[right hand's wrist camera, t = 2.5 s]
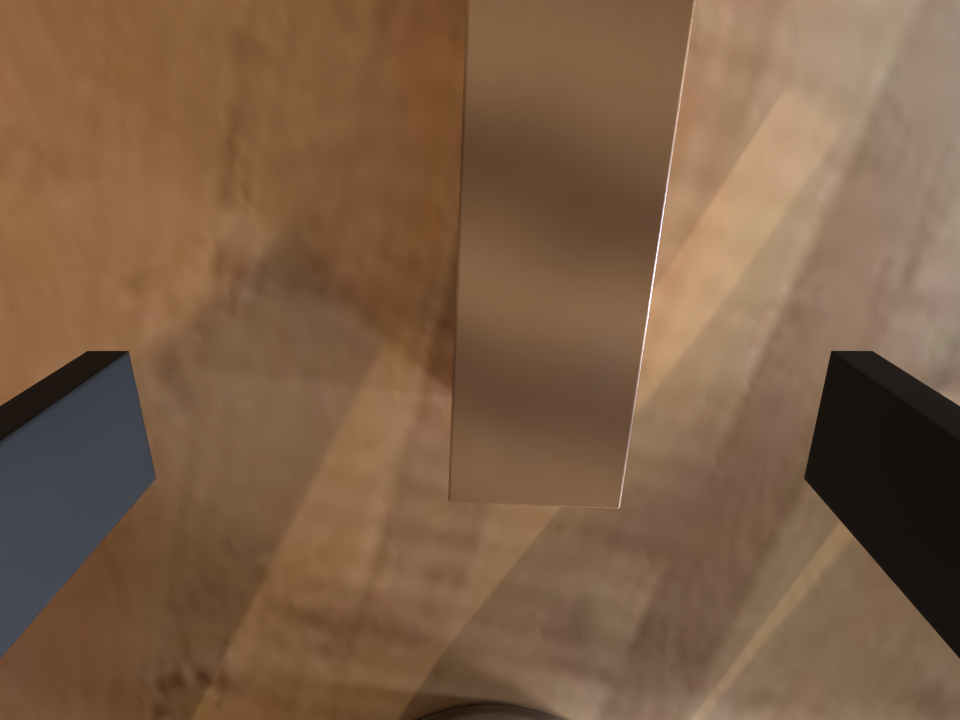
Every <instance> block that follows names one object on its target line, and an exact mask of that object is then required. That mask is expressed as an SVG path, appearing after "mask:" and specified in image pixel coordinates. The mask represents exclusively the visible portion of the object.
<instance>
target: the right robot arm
mask: <svg viewBox="0 0 960 720" xmlns="http://www.w3.org/2000/svg"><path fill="white" fill-rule="evenodd" d="M155 479H156V477H155V472H154V467H153V463H152V458H151V453H150V449H149V444H148V439H147V435H146V430H145V425H144V421H143V416H142V411H141V407H140V402H139V397H138V393H137V388H136V383H135V379H134V374H133V369H132V365H131V360H130V355H129V351H87V352H85V353H84V354H82V355H81V356H79V357H78V358H76V359H74V360H73V361H71V362H70V363H68V364H66V365H65V366H63V367H62V368H60V369H58V370H57V371H55V372H54V373H52V374H51V375H49V376H47V377H46V378H44V379H43V380H41V381H39V382H38V383H36V384H35V385H33V386H32V387H30V388H28V389H27V390H25V391H24V392H22V393H20V394H19V395H17V396H16V397H14V398H13V399H11V400H9V401H8V402H6V403H5V404H3V405H1V406H0V658H1V657H2V656H3V655H4V653H5V652H6V651H7V650H8V649H9V648H10V647H11V645H12V644H13V643H14V642H15V641H16V640H17V638H18V637H19V636H20V635H21V634H22V633H23V632H24V630H25V629H26V628H27V627H28V626H29V625H30V623H31V622H32V621H33V620H34V619H35V618H36V616H37V615H38V614H39V613H40V612H41V611H42V610H43V608H44V607H45V606H46V605H47V604H48V603H49V601H50V600H51V599H52V598H53V597H54V596H55V595H56V593H57V592H58V591H59V590H60V589H61V588H62V586H63V585H64V584H65V583H66V582H67V581H68V579H69V578H70V577H71V576H72V575H73V574H74V573H75V571H76V570H77V569H78V568H79V567H80V566H81V564H82V563H83V562H84V561H85V560H86V559H87V557H88V556H89V555H90V554H91V553H92V552H93V551H94V549H95V548H96V547H97V546H98V545H99V544H100V542H101V541H102V540H103V539H104V538H105V537H106V536H107V534H108V533H109V532H110V531H111V530H112V529H113V527H114V526H115V525H116V524H117V523H118V522H119V520H120V519H121V518H122V517H123V516H124V515H125V514H126V512H127V511H128V510H129V509H130V508H131V507H132V505H133V504H134V503H135V502H136V501H137V500H138V499H139V497H140V496H141V495H142V494H143V493H144V492H145V490H146V489H147V488H148V487H149V486H150V485H151V483H152V482H153V481H154V480H155ZM804 479H805V480H806V481H807V482H808V483H809V485H810V486H811V487H812V488H813V489H814V490H815V492H816V493H817V494H818V495H819V496H820V497H821V499H822V500H823V501H824V502H825V503H826V504H827V505H828V507H829V508H830V509H831V510H832V511H833V512H834V514H835V515H836V516H837V517H838V518H839V519H840V520H841V522H842V523H843V524H844V525H845V526H846V527H847V529H848V530H849V531H850V532H851V533H852V534H853V536H854V537H855V538H856V539H857V540H858V541H859V542H860V544H861V545H862V546H863V547H864V548H865V549H866V551H867V552H868V553H869V554H870V555H871V556H872V557H873V559H874V560H875V561H876V562H877V563H878V564H879V566H880V567H881V568H882V569H883V570H884V571H885V573H886V574H887V575H888V576H889V577H890V578H891V579H892V581H893V582H894V583H895V584H896V585H897V586H898V588H899V589H900V590H901V591H902V592H903V593H904V595H905V596H906V597H907V598H908V599H909V600H910V601H911V603H912V604H913V605H914V606H915V607H916V608H917V610H918V611H919V612H920V613H921V614H922V615H923V616H924V618H925V619H926V620H927V621H928V622H929V623H930V625H931V626H932V627H933V628H934V629H935V630H936V632H937V633H938V634H939V635H940V636H941V637H942V638H943V640H944V641H945V642H946V643H947V644H948V645H949V647H950V648H951V649H952V650H953V651H954V652H955V653H956V655H957V656H958V657H959V658H960V406H959V405H957V404H955V403H954V402H952V401H951V400H949V399H947V398H946V397H944V396H943V395H941V394H940V393H938V392H936V391H935V390H933V389H932V388H930V387H928V386H927V385H925V384H924V383H922V382H921V381H919V380H917V379H916V378H914V377H913V376H911V375H909V374H908V373H906V372H905V371H903V370H902V369H900V368H898V367H897V366H895V365H894V364H892V363H890V362H889V361H887V360H886V359H884V358H882V357H881V356H879V355H878V354H876V353H875V352H873V351H831V355H830V360H829V365H828V369H827V374H826V379H825V383H824V388H823V393H822V397H821V402H820V407H819V411H818V416H817V421H816V425H815V430H814V435H813V439H812V444H811V449H810V453H809V458H808V463H807V467H806V472H805V477H804ZM422 720H561V719H559V718H556V717H554V716H552V715H549V714H546V713H543V712H540V711H536V710H532V709H527V708H522V707H516V706H506V705H476V706H468V707H461V708H456V709H451V710H447V711H443V712H440V713H437V714H434V715H431V716H429V717H426V718H424V719H422Z"/></svg>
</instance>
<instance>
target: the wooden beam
mask: <svg viewBox="0 0 960 720" xmlns="http://www.w3.org/2000/svg"><path fill="white" fill-rule="evenodd" d="M695 2H696V0H467V6H466V34H465V61H464V88H463V115H462V142H461V169H460V196H459V224H458V251H457V278H456V305H455V332H454V359H453V386H452V414H451V441H450V468H449V495H448V500H449V502H459V503H484V504H510V505H535V506H560V507H585V508H610V509H619V508H620V503H621V497H622V490H623V483H624V477H625V470H626V463H627V457H628V450H629V443H630V437H631V430H632V423H633V416H634V410H635V403H636V396H637V390H638V383H639V376H640V370H641V363H642V356H643V350H644V343H645V336H646V329H647V323H648V316H649V309H650V303H651V296H652V289H653V283H654V276H655V269H656V263H657V256H658V249H659V243H660V236H661V229H662V222H663V216H664V209H665V202H666V196H667V189H668V182H669V176H670V169H671V162H672V156H673V149H674V142H675V135H676V129H677V122H678V115H679V109H680V102H681V95H682V89H683V82H684V75H685V69H686V62H687V55H688V49H689V42H690V35H691V28H692V22H693V15H694V8H695Z"/></svg>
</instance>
